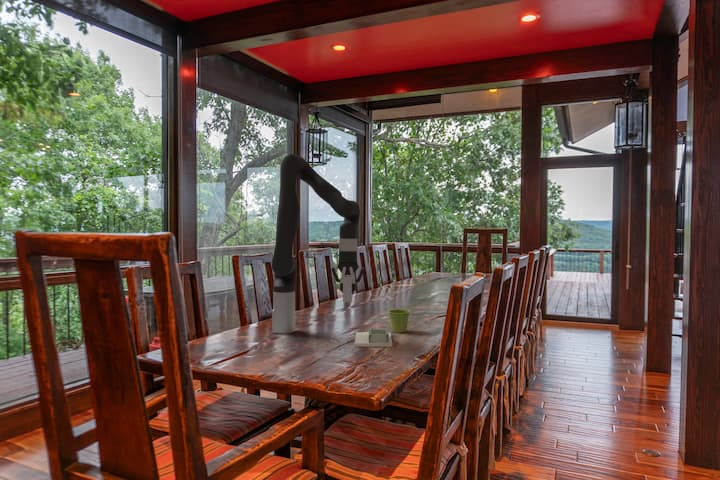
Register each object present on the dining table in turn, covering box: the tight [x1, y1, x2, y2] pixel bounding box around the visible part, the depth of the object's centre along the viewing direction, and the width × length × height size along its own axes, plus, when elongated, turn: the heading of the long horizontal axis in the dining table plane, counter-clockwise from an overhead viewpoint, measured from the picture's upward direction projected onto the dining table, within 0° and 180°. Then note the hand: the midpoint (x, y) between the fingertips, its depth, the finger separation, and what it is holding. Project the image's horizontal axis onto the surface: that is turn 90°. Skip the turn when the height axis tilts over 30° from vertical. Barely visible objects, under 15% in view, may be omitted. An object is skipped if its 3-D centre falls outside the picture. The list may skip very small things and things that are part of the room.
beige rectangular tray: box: [354, 328, 393, 348], centre depth 179 cm, size 14×18×4 cm
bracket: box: [342, 275, 353, 303], centre depth 185 cm, size 4×6×10 cm, turn 178°
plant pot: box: [387, 308, 411, 334], centre depth 195 cm, size 9×9×9 cm
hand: (347, 292), depth 185 cm, fingers closed on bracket, 3 cm apart
